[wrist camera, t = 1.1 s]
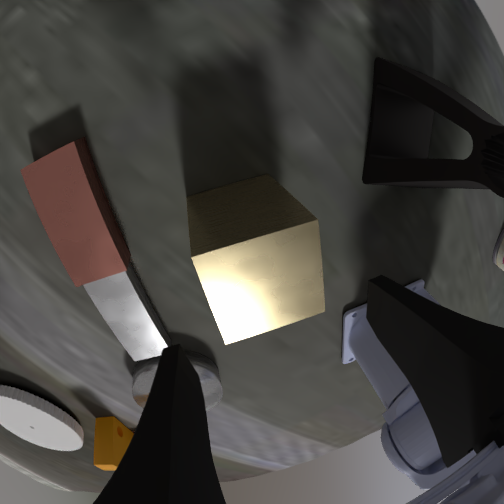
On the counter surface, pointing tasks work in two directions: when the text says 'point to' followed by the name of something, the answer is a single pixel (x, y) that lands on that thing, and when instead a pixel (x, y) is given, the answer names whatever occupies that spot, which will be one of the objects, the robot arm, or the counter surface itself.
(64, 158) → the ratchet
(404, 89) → the phone stand
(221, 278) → the tan rectangular block
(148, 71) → the counter surface
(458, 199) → the counter surface
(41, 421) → the plastic lid
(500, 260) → the aerosol can
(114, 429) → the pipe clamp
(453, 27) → the counter surface
